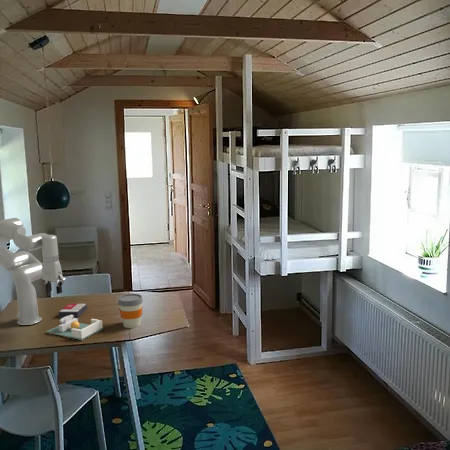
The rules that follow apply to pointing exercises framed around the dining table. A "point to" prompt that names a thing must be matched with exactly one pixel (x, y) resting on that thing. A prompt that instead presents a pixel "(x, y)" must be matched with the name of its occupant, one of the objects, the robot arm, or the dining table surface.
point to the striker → (66, 323)
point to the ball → (75, 325)
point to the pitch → (70, 331)
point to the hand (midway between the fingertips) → (54, 292)
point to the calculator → (73, 310)
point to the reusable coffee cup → (130, 309)
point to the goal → (87, 329)
